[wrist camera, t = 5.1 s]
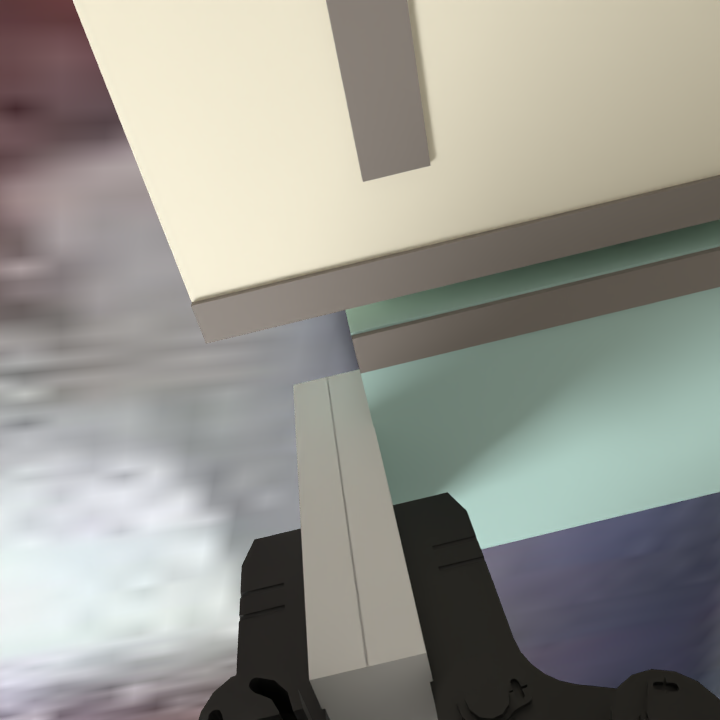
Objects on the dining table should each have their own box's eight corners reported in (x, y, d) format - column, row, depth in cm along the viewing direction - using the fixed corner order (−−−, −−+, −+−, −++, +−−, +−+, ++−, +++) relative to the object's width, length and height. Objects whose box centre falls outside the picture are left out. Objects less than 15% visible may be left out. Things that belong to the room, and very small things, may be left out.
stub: (383, 460, 16) (409, 571, 13) (332, 253, 13) (351, 336, 10) (678, 389, 16) (771, 483, 13) (698, 164, 13) (828, 220, 10)
